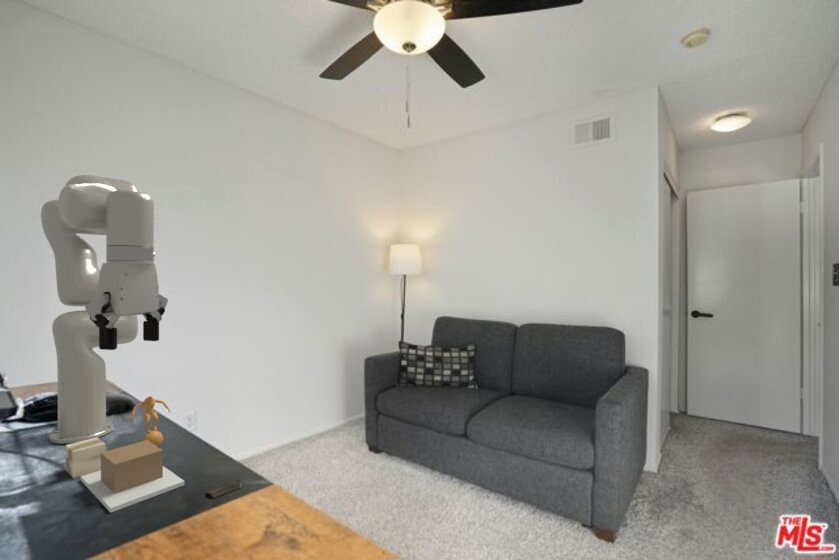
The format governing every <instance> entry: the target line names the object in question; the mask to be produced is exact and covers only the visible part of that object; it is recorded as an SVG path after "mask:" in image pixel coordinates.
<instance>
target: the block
mask: <svg viewBox="0 0 839 560" xmlns="http://www.w3.org/2000/svg"><path fill="white" fill-rule="evenodd" d="M240 489H242V481H241V480H239V479H234V480H232V481H230V482H228V483H225V484H223V485H221V486H219V487H216V488H215V489H212V490H209V491H206V493H205V495H206V496H207V497H209V498H210V499H212V500H214V499H218V498H220V497H223V496H225V495H228V494H230V493H232V492H235V491H239V490H240Z"/></svg>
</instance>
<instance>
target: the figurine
mask: <svg viewBox="0 0 839 560" xmlns="http://www.w3.org/2000/svg"><path fill="white" fill-rule="evenodd" d="M156 403H157V404H162V405H163V406H164V407H165V408H166V409H167V411H168V412H169V414H171V409H170V408H169V406H168V405H167V403H165V401H163V400H160V399H157V398H153V396H152V395H149V396H148V397H146V398H145V399H144V400H142V401H141V402H140V403H138V404H137V405H135V406H134V407H133V409H132V412H131V415H130V419H129V420H130V422H131V423H132V422H133V421H134V419H135V418H134V415H135V412H136V410H137V409H139V408H140V407H142V406H144V408H145V410H146V412H143V417H144V421H145V422H146V423H145V426H146V429H147V433H146V434H145V435H144V437H143V439H142V441H146V440H148V441H149V442H151V443H152V444H154V445H155V446H157V447H159V446H160V445H161V444H162V443H163V440H164V436H163V433H162V432H161V431H159V430H158V428H157V425H156V424H158V420H159V416H158V414H157V412H158V411H157V410H156V409H155V410H154V408H155V406H156ZM151 416H152V419H154V421H153V430H151V429H150V420H151Z"/></svg>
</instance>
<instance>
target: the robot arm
mask: <svg viewBox="0 0 839 560" xmlns="http://www.w3.org/2000/svg"><path fill="white" fill-rule="evenodd" d="M154 203H155V202H154V200H153V198H152V196H151V195H149V194H147V193H144V192H140V191H139V189H137V187H136V185H134V184H133V183H132V182H130V181H128V180H124V179H123V180H122V179H117V178H111V177H102V176H99V175H92V174H79V175H76V176H74V177H72V178H70V179H68V181H66V183H65V185H64V187H62V189H61V191H60V192H59V195H58V199H52V200H48V201H47V202H45V203H44V204H43V205H42V207H41V209H40V210H41V211H40V220H41V226H42V230H43V233H44V235H45V237H46V240H47V241H48V243H49V246H50V247H51V250H52V251H53V255H54V262H55V263H54V264H55V277H56V288H57V289H56V290H57V296H58V300H59V301H60V303H61V304H63V305H64V306H69V307H84V308H85V310H74V311H73V310H72V311H67V312H64V313H60V314H59V315H58V316H57V317H55V319H54V320H53V322H52V329H51V330H52V336H53V341H54V347H55V351H56V353H55V354H56V361H57V362H56V363H57V430H54V431H53V432H52V433H50V434H49V441H50V442H51V443H53V444H63V445H65V444H73V443H77V442H81V441H85V440H89V439H93V438H97V437H98V438H101V437H103V436H105V435H107V434H109V433H111V432H112V431H113V430H114V423H112V422H110V421H107V399H106V398H107V392H106V391H107V385H106V384H107V379H106V378H107V377H106V376H107V375H106V374H107V373H106V370H107V368H106V363H105V360H104V358H103V357H101V356H100V355H99V354H98V353H96V352H95V351H94V350H93V349H95V348H99V350H105V351H108V350H109V351H114V350H116V349H118V345H122V344H129V343H131V342H133V341H135V339H136V338H137V336H138V332H139V323H138V322H139V321H138V315H142V317H143V318H144V319H145V320H144V321H143V323H142V334H143V335H142V339H143V341H144V342H157V341H158V342H159V341H160V321H162V319H163V315H164V313H165V312H166V307H167V304H168V298H166V297H164V296H163V295H161V294H160V292H159V291H160V290H159V289H160V288H159V280H158V273H157V268H156V264H155V257H156V253H155V252H154V251H155V250H154V249H155V248H154V246H155V243H154V241H155V240H154V237H155V235H154V230H155V229H154V228H155V227H154V225H155V223H154V220H155V217H154V216H155V215H154V211H155V209H154V207H155V205H154ZM79 234H80V235H82V234H83V235H94V236H96V235H97V236H105V237H106V240H105V243H106V247H105V248H106V250H105V253H106V257H105V258H106V259H105V260H106V262H103V263H102V264H101V267H100V268H99V267H98V266H99V265H98V255H97V252H96V251H95V248H93V247H92V245H90V244H89V243H88V241H86V240H85V239H83V238H82V237H81V236H79Z"/></svg>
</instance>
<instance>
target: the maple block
mask: <svg viewBox="0 0 839 560" xmlns="http://www.w3.org/2000/svg"><path fill="white" fill-rule="evenodd" d="M106 445H107V444H106V443H105V442H104V441H103V440H101V438H100V437H97V438H93V439H89V440H85V441H81V442H76V443H68V444H66V445H65V471H66V472H67V474H68V475H70V477H71V478H72V479H76V478H79V477H80V478H81V476H84V475H87V474H90V473H94V472H97V471H100V470H101V453H102V452H106V451H107V450H106V449H107V447H106Z"/></svg>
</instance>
